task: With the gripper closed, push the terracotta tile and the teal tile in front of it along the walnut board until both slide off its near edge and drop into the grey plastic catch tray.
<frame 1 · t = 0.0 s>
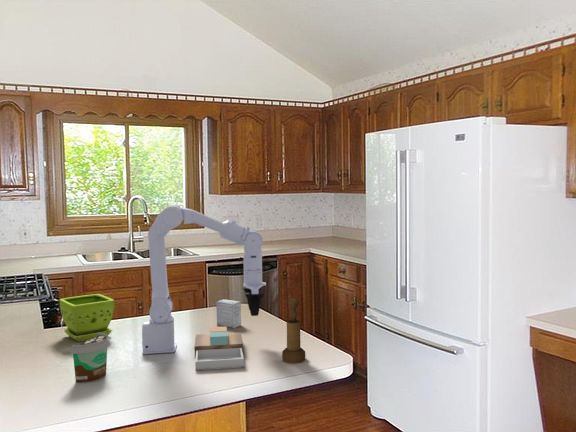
hand: (253, 312, 162), 10 cm above the countertop, tool pointing down, fingers open, 7 cm apart
food container: (97, 377, 136), on the countertop
teal tile: (218, 342, 153), point 3 cm above the countertop, touching walnut board
flower pot: (87, 337, 173), on the countertop
walnut board: (218, 350, 157), on the countertop
terracotta tile: (218, 337, 159), point 3 cm above the countertop, touching walnut board
catch tray: (219, 363, 146), on the countertop
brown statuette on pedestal: (293, 360, 148), on the countertop
medicine box: (229, 326, 185), on the countertop
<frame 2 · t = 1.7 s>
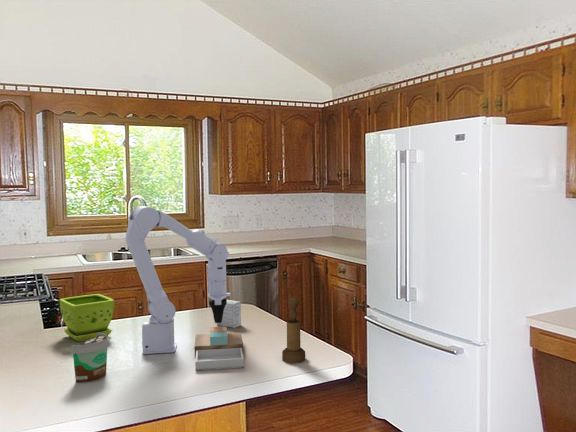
hand: (218, 322, 166), 6 cm above the countertop, tool pointing down, fingers closed
nothing on the countertop moved.
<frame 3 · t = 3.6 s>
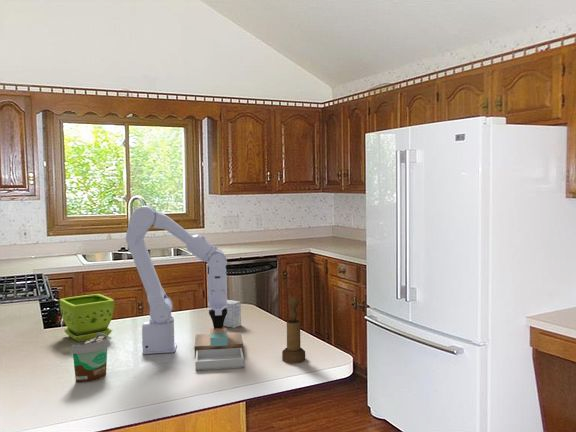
hand: (218, 332, 161), 4 cm above the countertop, tool pointing down, fingers closed
teal tile: (219, 343, 152), point 4 cm above the countertop, touching terracotta tile, walnut board
terracotta tile: (218, 338, 157), point 4 cm above the countertop, touching gripper, teal tile
everything else where it was.
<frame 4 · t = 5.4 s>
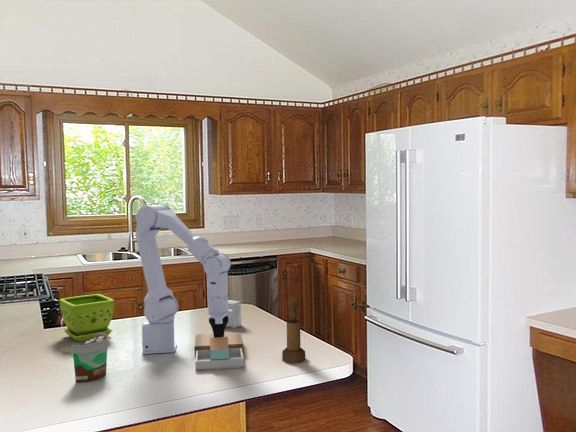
hand: (218, 342, 151), 4 cm above the countertop, tool pointing down, fingers closed
teal tile: (219, 351, 144), point 4 cm above the countertop, tilted 151°, touching catch tray, terracotta tile
terracotta tile: (219, 350, 149), point 3 cm above the countertop, tilted 27°, touching gripper, teal tile
everything else where it was.
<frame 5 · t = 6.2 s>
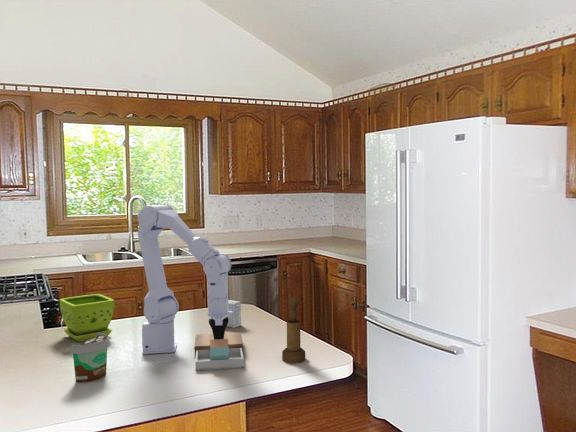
hand: (218, 343, 150), 4 cm above the countertop, tool pointing down, fingers closed
teal tile: (219, 351, 143), point 4 cm above the countertop, tilted 134°, touching catch tray, terracotta tile
terracotta tile: (219, 351, 148), point 3 cm above the countertop, tilted 33°, touching gripper, teal tile
everything else where it was.
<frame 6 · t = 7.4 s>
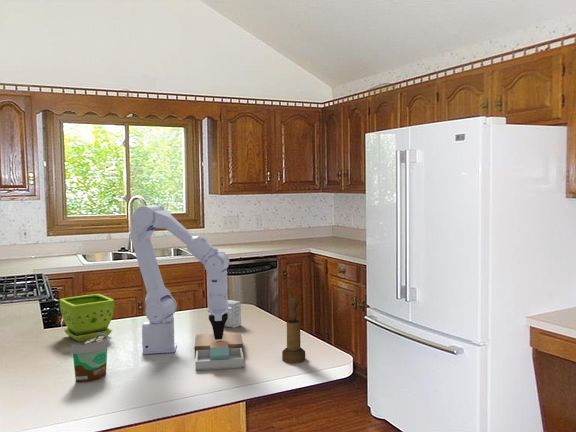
hand: (218, 338, 155), 4 cm above the countertop, tool pointing down, fingers closed
terracotta tile: (219, 354, 148), point 2 cm above the countertop, tilted 19°, touching catch tray, teal tile
everything else where it was.
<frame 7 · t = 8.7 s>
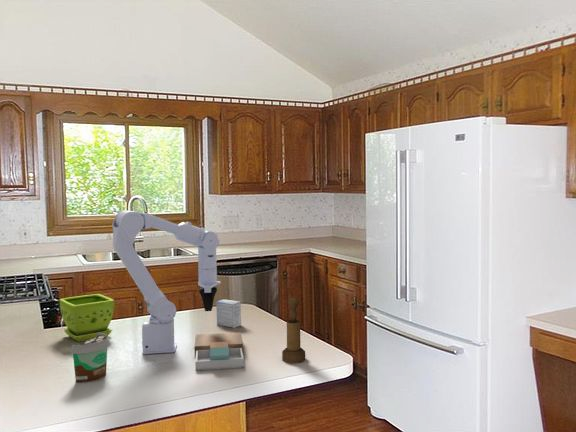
hand: (208, 310, 166), 10 cm above the countertop, tool pointing down, fingers closed
nothing on the countertop moved.
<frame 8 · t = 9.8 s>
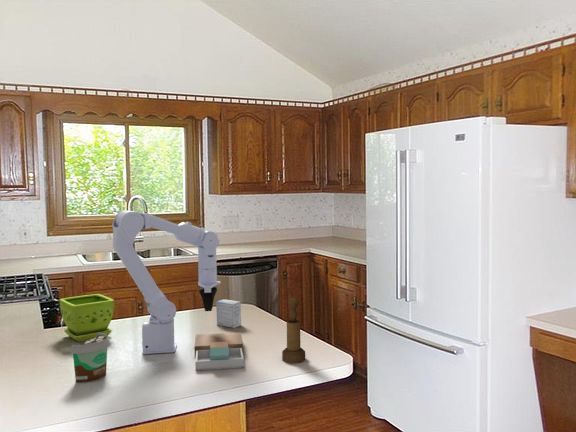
hand: (208, 310, 166), 10 cm above the countertop, tool pointing down, fingers closed
nothing on the countertop moved.
at the end: terracotta tile inside the target area (2.2 cm from its centre), point 1.7 cm above the countertop; teal tile inside the target area (2.3 cm from its centre), point 4.0 cm above the countertop; terracotta tile touching catch tray, teal tile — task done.
